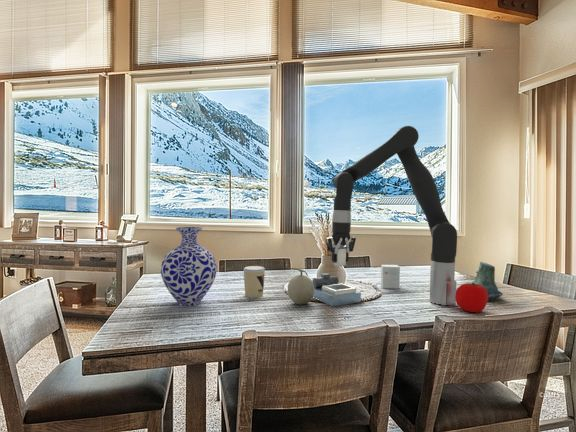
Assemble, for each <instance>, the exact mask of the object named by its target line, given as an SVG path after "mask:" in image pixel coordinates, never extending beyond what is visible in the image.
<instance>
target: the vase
mask: <svg viewBox="0 0 576 432" xmlns="http://www.w3.org/2000/svg"><path fill="white" fill-rule="evenodd" d="M175 230H176V231H177V232H179V233H180V234H181V242H180V244H179V245H177V246H176V247H174V248H172V249H171V250H170V251H169V252H168V253H167V254H166V255H165V256H164V257H163V260H162V262H161V265H160V266H161V267H160V277H161V279H162V281H163V284H164V286H165V288H166V290H167V291H168V293H169V294H170V295H171V296H172V297H173V299H174V300H175V301H176V302H177V305H179V306H182V307H192V306H197V305H199V304H201V302H202V301H203V299H204V298H205V296H206V295H207V294H208V292H209V290H210V289H211V287H212V286H213V283H214V282H215V280H216V276H217V271H218V268H217V261H216V259H215V256H214V255H213V254H212V252H210V251H209V250H208V249H207V248H205V247H204V246H202V245H200V244H199V243H198V241H197V237H198V233H199V232H201V231H202V230H203V227H202V226H201V227H199V226H182V227H181V226H179V227H175Z"/></svg>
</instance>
